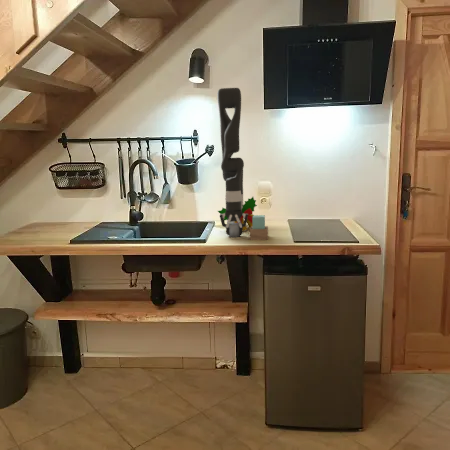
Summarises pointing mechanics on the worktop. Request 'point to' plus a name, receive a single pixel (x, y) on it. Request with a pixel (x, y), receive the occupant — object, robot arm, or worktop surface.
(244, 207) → the ornament
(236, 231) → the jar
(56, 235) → the worktop surface
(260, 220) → the cube
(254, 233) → the plinth
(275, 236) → the worktop surface
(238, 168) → the robot arm
